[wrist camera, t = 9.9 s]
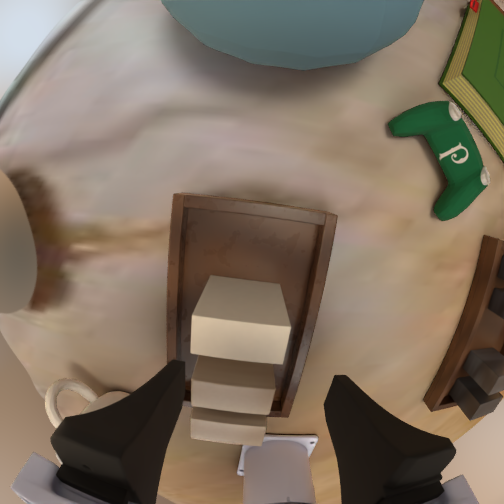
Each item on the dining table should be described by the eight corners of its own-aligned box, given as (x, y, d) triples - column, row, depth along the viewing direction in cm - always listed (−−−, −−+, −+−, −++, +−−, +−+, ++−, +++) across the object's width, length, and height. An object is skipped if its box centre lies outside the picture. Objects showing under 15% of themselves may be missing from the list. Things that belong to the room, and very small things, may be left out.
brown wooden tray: (286, 401, 23) (294, 460, 16) (174, 387, 23) (154, 444, 16) (328, 212, 19) (368, 226, 12) (182, 192, 19) (143, 196, 12)
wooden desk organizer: (479, 387, 24) (502, 414, 18) (422, 400, 24) (446, 436, 18) (531, 250, 20) (567, 264, 13) (483, 234, 20) (530, 250, 13)
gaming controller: (439, 206, 21) (492, 185, 16) (438, 227, 19) (500, 204, 14) (390, 117, 19) (445, 86, 15) (383, 125, 17) (447, 89, 12)
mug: (185, 423, 24) (166, 499, 15) (138, 443, 26) (115, 503, 16) (93, 340, 22) (36, 404, 12) (59, 373, 24) (15, 426, 14)
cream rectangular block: (274, 313, 20) (282, 364, 14) (207, 305, 20) (190, 353, 14) (280, 283, 20) (291, 327, 14) (210, 274, 20) (191, 314, 13)
